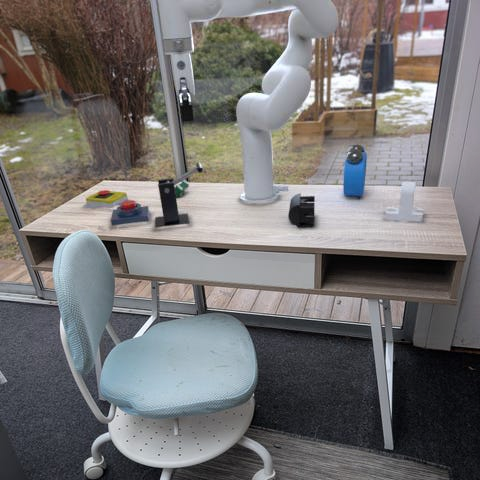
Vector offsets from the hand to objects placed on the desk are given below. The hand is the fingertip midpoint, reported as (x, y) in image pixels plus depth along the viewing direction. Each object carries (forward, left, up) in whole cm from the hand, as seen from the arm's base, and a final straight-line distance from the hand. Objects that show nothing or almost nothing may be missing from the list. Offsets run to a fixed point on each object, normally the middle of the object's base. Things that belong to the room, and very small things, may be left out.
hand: (187, 118), depth 131 cm
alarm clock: (-50, -2, -29) cm, 58 cm away
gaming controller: (+5, -23, -29) cm, 37 cm away
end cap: (-29, +15, -29) cm, 43 cm away
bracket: (+8, +4, -28) cm, 30 cm away
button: (+21, -3, -24) cm, 32 cm away
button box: (+21, -3, -28) cm, 35 cm away
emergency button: (+29, -21, -29) cm, 46 cm away
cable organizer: (-57, +21, -29) cm, 67 cm away
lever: (+3, +4, -16) cm, 17 cm away
